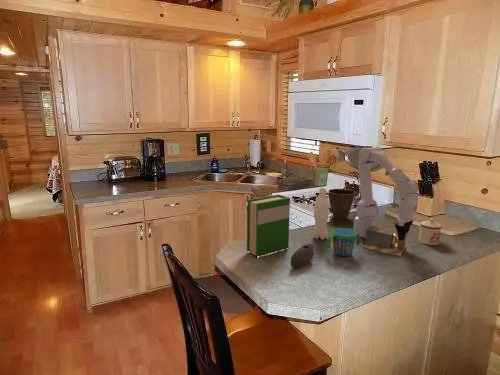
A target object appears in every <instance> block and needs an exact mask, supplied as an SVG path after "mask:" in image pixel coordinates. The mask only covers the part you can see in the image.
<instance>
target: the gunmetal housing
mask: <svg viewBox="0 0 500 375" xmlns="http://www.w3.org/2000/svg"><path fill="white" fill-rule="evenodd" d="M394 233H396V229H395V230H394V229H390V228H386V227H385V228H384V227H378V226H375V225H374V226H370V227H369V228H368V229H367V231H366V238H365V244H367V245H371V246H376V247H380V248H385V249H389V250H390V249H391V248H392V244H391V241H392V236H393V235H394ZM365 244H364V245H365Z"/></svg>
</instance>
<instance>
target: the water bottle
mask: <svg viewBox="0 0 500 375" xmlns="http://www.w3.org/2000/svg"><path fill="white" fill-rule="evenodd" d="M318 190H319V191H318V196H317V198H316V200H315V202H314V204H313V205H314V207H313V208H314V209H313V217H314V229H313V231H312V235H313V237H314V239H315V238H316V239H315V240H318V239H320V241H321V240H322V241H323V240H326V239H327V238H328V235H329V231H328V227H327V223H328V220H329V218H330V216H329V214H330V202H329V198H327V188H326V187H319V189H318Z"/></svg>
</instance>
